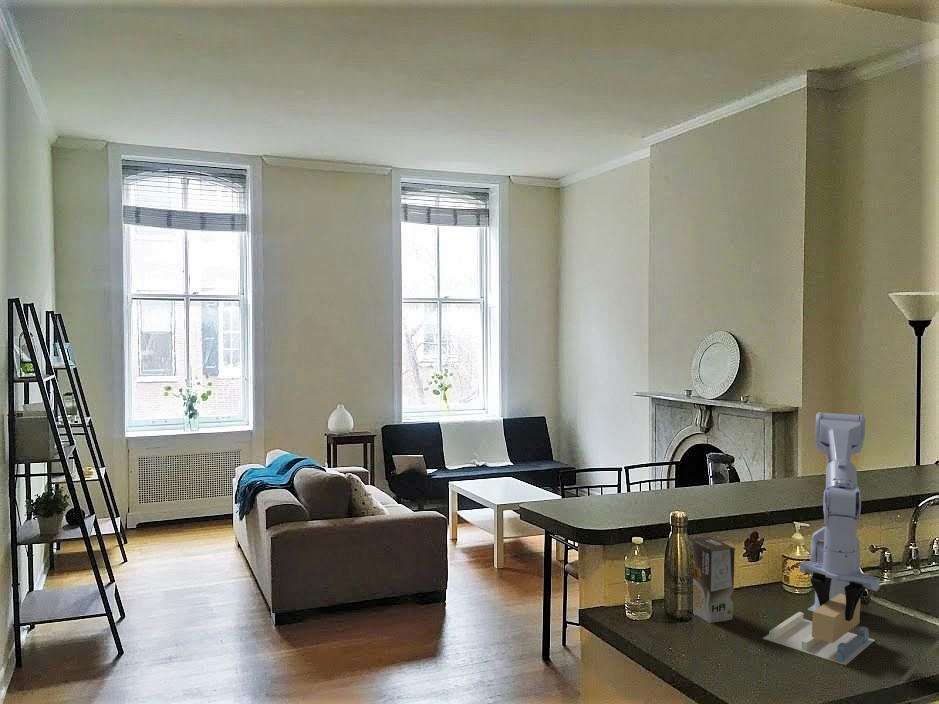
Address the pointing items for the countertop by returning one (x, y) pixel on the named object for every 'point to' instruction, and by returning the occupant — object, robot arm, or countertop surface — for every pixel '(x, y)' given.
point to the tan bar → (833, 619)
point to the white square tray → (819, 640)
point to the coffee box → (712, 579)
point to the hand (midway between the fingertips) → (836, 615)
